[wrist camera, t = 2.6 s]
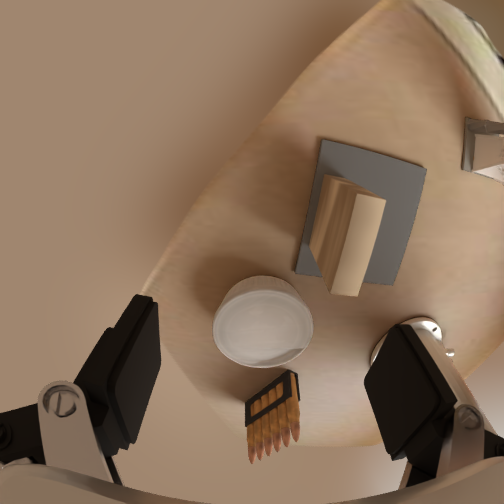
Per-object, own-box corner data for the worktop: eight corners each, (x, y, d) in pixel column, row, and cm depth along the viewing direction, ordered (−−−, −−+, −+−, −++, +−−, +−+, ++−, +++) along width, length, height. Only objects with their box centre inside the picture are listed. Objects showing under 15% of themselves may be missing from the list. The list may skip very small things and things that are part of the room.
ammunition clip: (288, 369, 39) (296, 437, 28) (297, 373, 39) (307, 440, 28) (244, 402, 42) (242, 464, 31) (253, 406, 43) (253, 467, 32)
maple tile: (345, 178, 28) (386, 200, 19) (329, 249, 31) (357, 296, 22) (324, 173, 28) (357, 193, 19) (308, 246, 31) (330, 293, 22)
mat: (424, 168, 28) (426, 169, 27) (390, 283, 33) (392, 285, 33) (321, 139, 27) (322, 139, 26) (294, 271, 33) (295, 273, 32)
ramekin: (246, 352, 38) (245, 380, 33) (198, 292, 34) (190, 318, 29) (320, 319, 36) (329, 345, 31) (281, 249, 32) (285, 271, 27)
